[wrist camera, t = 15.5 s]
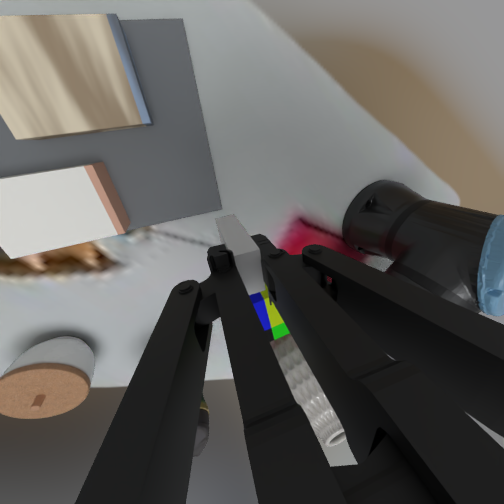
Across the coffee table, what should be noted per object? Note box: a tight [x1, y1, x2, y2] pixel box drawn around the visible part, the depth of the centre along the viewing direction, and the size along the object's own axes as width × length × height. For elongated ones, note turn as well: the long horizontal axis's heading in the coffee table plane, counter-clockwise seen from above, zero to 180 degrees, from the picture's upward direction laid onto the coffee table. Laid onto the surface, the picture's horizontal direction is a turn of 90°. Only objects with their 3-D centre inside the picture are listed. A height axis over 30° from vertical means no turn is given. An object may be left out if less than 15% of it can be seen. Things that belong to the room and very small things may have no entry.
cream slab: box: [0, 162, 131, 259], centre depth 24 cm, size 4×8×12 cm
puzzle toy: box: [249, 284, 290, 342], centre depth 37 cm, size 10×10×10 cm
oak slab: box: [0, 14, 154, 140], centre depth 20 cm, size 4×8×12 cm
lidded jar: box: [0, 336, 95, 419], centre depth 31 cm, size 11×11×9 cm
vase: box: [270, 333, 346, 447], centre depth 42 cm, size 16×16×22 cm
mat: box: [0, 19, 222, 231], centre depth 25 cm, size 26×21×1 cm
